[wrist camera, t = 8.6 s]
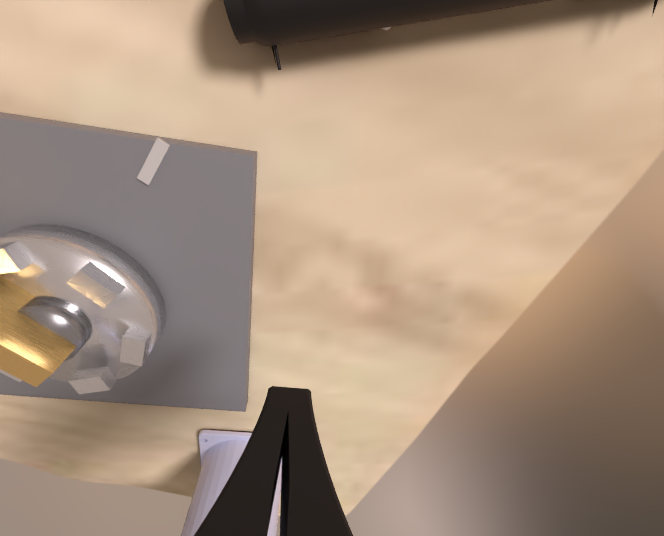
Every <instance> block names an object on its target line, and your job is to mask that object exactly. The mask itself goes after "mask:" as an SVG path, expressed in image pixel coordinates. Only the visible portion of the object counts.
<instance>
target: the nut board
mask: <svg viewBox="0 0 664 536" xmlns="http://www.w3.org/2000/svg"><path fill="white" fill-rule="evenodd" d="M256 171H257V152H255V151H249V150H242V149H236V148H229V147H223V146H216V145H210V144H203V143H197V142H190V141H184V140H177V139H171V138H164V137H158V136H151V135H145V134H138V133H132V132H125V131H118V130H112V129H105V128H99V127H92V126H86V125H79V124H73V123H66V122H60V121H53V120H47V119H40V118H34V117H27V116H21V115H14V114H8V113H1V112H0V235H2V234H4V233H6V232H8V231H11V230H13V229H16V228H19V227H23V226H27V225H37V224H52V225H60V226H67V227H71V228H75V229H79V230H83V231H85V232H88V233H91V234H94V235H96V236H98V237H101V238H103V239H105V240H107V241H109V242H110V243H112V244H114V245H116V246H118V247H119V248H121V249H122V250H123V251H125V252H126V253H128V254H129V255H130V256H132V257H133V258H134V259H135V260H136V261H137V262H139V263H140V264H141V265H142V266H143V268H144V269H145V270H146V271H147V272H148V273H149V274H150V276H151V277H152V278H153V280H154V281H155V283H156V284H157V286H158V288H159V289H160V292H161V294H162V296H163V299H164V302H165V306H166V324H165V327H164V330H163V332H162V334H161V336H160V338H159V340H158V341H157V343H156V345H155V346H154V348H153V350H152V351H151V353H150V354H149V356H148V358H147V359H146V361H145V362H144V364H143V366H141V367H139V368H138V369H137V370H136V371H134V372H133V373H131V374H130V375H128V376H125V377H123V378H121V379H117V381H116V382H115V384H114V385H113V387H112V388H111V390H108V391H100V392H92V393H84V394H78V393H77V391H76V390H75V389H74V388H73V387H72V385H71V384H70V383H69V382H66V381H60V380H56V379H52V378H47V379H46V380H44V381H43V382H42V383H41V384H40V385H38V386H37V387H34V386H32V385H30V384H28V383H26V382H25V381H23V380H22V381H21V382H18V381H16V380H14V379H12V378H10V377H8V376H6V375H4V374H2V373H0V394H2V395H16V396H30V397H44V398H58V399H72V400H87V401H101V402H115V403H129V404H143V405H157V406H171V407H186V408H200V409H214V410H228V411H242V412H245V411H246V407H247V402H248V381H249V355H250V329H251V302H252V276H253V250H254V223H255V197H256Z"/></svg>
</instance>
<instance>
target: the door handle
mask: <svg viewBox="0 0 664 536" xmlns="http://www.w3.org/2000/svg"><path fill="white" fill-rule="evenodd" d="M544 1H550V0H224V4H225V8H226V11H227V15H228V18H229V21H230V24H231V27H232V30H233V32H234V34H235V37H236V39H237V40H238V42H239V43H240V44H243V43H249V42H257V43H259V44H262V45H266V46H270V47H271V46H272V50H273V54H274V50H275V54H274V59H275V55H276V60H277V66H278V70H281V66H280V61H279V55H278V50H277V45H283V44H289V43H295V42H301V41H308V40H314V39H320V38H326V37H332V36H338V35H344V34H350V33H356V32H362V31H368V30H374V29H380V28H382V29H383V30H389V29H390V28H391V27H392V26H398V25H404V24H410V23H416V22H423V21H429V20H435V19H441V18H447V17H453V16H459V15H465V14H471V13H477V12H483V11H489V10H495V9H501V8H507V7H513V6H519V5H525V4H532V3H538V2H544ZM657 1H658V0H655V2H654V8H653V13H654V10H655V7H656V4H657ZM652 16H653V14H652ZM273 46H274V48H273ZM275 63H276V61H275Z"/></svg>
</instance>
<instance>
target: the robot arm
mask: <svg viewBox="0 0 664 536" xmlns="http://www.w3.org/2000/svg"><path fill="white" fill-rule="evenodd" d="M199 447H200V458H201V471H200V474H199V478H198V481H197V484H196V488H195V491H194V494H193V497H192V501H191V504H190V507H189V511H188V514H187V517H186V521H185V524H184V528H183V531H182V534H181V536H276V532H277V521H278V511H279V501H280V492H281V515H280V536H353V534H352V532H351V530H350V527H349V525H348V522H347V520H346V518H345V515H344V512H343V510H342V507H341V505H340V502H339V500H338V497H337V494H336V491H335V488H334V486H333V483H332V480H331V477H330V474H329V471H328V467H327V464H326V461H325V458H324V454H323V450H322V447H321V443H320V440H319V436H318V432H317V427H316V423H315V418H314V413H313V407H312V399H311V391H310V390H309V389H300V388H287V387H274V386H272V387H270V388H269V389H268V393H267V397H266V400H265V403H264V406H263V409H262V411H261V414H260V416H259V419H258V421H257V424H256V426H255V428H254V430H253V432H252V433H248V432H232V431H217V430H202V431H200V433H199Z"/></svg>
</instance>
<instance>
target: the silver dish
mask: <svg viewBox="0 0 664 536" xmlns="http://www.w3.org/2000/svg"><path fill="white" fill-rule="evenodd" d="M165 324H166V306H165V302H164V299H163V296H162V294H161V292H160V289H159V288H158V286H157V284H156V283H155V281H154V280H153V278H152V277H151V276H150V274H149V273H148V272H147V271H146V270H145V269H144V268H143V266H142V265H141V264H140V263H139V262H137V261H136V260H135V259H134V258H133V257H132V256H130V255H129V254H128V253H126V252H125V251H123V250H122V249H121V248H119V247H118V246H116V245H114V244H112V243H110V242H109V241H107V240H105V239H103V238H101V237H98V236H96V235H94V234H91V233H88V232H85V231H83V230H79V229H75V228H71V227H67V226H60V225H52V224H37V225H27V226H23V227H19V228H16V229H13V230H11V231H8V232H6V233H4V234H2V235H0V373H2V374H4V375H6V376H8V377H10V378H12V379H14V380H16V381H18V382H21V381H22V380H23V381H25V382H26V383H28V384H30V385H32V386H34V387H37V386H38V385H40V384H41V383H42V382H43V381H44V380H46V379H47V378H52V379H56V380H60V381H66V382H69V383H70V384H71V385H72V387H73V388H74V389H75V390H76V391H77V393H78V394H84V393H92V392H100V391H108V390H111V388H112V387H113V385H114V384H115V382H116V381H117V379H121V378H123V377H125V376H128V375H130V374H131V373H133V372H134V371H136V370H137V369H138V368H139V367H141V366H143V364H144V362H145V361H146V359H147V358H148V356H149V354H150V353H151V351H152V350H153V348H154V346H155V345H156V343H157V341H158V340H159V338H160V336H161V334H162V332H163V330H164V327H165Z"/></svg>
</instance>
